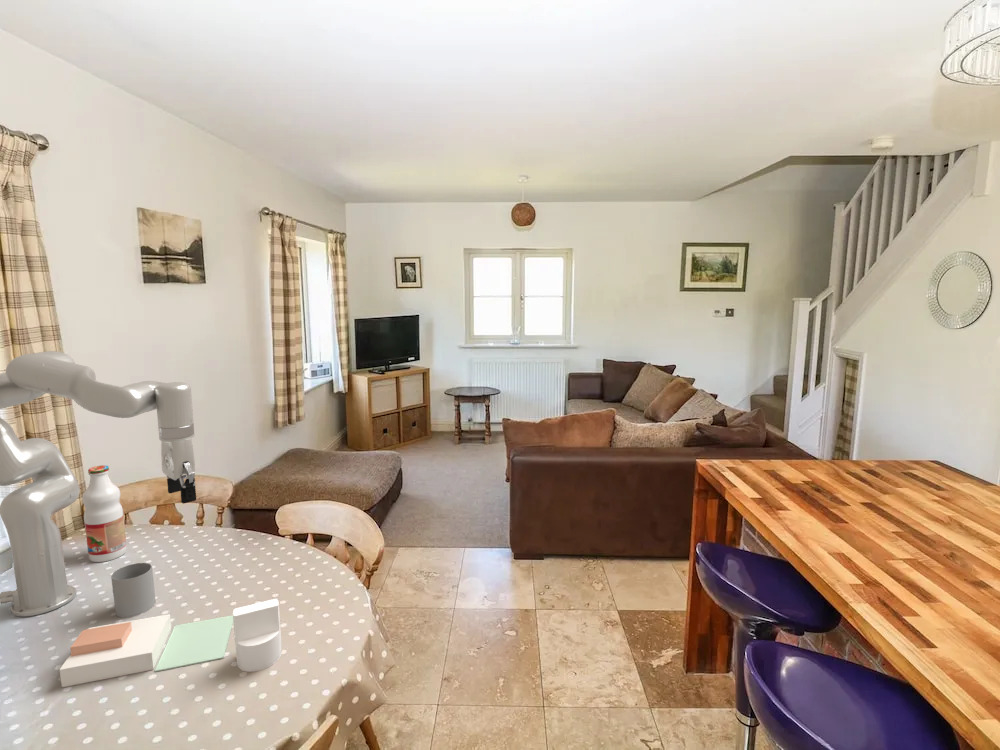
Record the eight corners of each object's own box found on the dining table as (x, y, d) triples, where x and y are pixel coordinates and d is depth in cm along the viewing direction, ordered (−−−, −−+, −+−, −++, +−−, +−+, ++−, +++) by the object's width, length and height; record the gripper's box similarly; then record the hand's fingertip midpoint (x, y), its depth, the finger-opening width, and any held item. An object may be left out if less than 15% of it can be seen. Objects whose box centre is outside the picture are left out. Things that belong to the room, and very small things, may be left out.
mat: (154, 672, 108) (154, 670, 108) (175, 626, 123) (174, 625, 123) (223, 658, 113) (223, 657, 112) (235, 615, 127) (234, 614, 127)
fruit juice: (127, 556, 156) (118, 468, 152) (88, 566, 151) (77, 475, 146) (127, 544, 164) (117, 460, 159) (89, 553, 158) (78, 466, 154)
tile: (71, 656, 107) (70, 647, 107) (83, 638, 113) (82, 630, 113) (122, 646, 110) (121, 638, 110) (131, 630, 116) (131, 621, 115)
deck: (61, 687, 104) (59, 669, 103) (91, 643, 117) (89, 627, 116) (153, 669, 109) (151, 652, 108) (171, 629, 122) (170, 614, 122)
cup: (163, 601, 133) (159, 566, 132) (131, 620, 126) (127, 582, 124) (140, 595, 136) (136, 560, 134) (107, 613, 128) (103, 576, 127)
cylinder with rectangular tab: (237, 677, 107) (232, 624, 105) (236, 650, 115) (232, 601, 113) (283, 663, 111) (280, 612, 109) (280, 638, 119) (276, 591, 117)
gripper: (148, 428, 131) (154, 492, 134) (171, 441, 120) (177, 510, 123) (181, 423, 137) (186, 484, 140) (206, 435, 126) (211, 501, 128)
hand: (182, 496), depth 131 cm, fingers open, 9 cm apart
